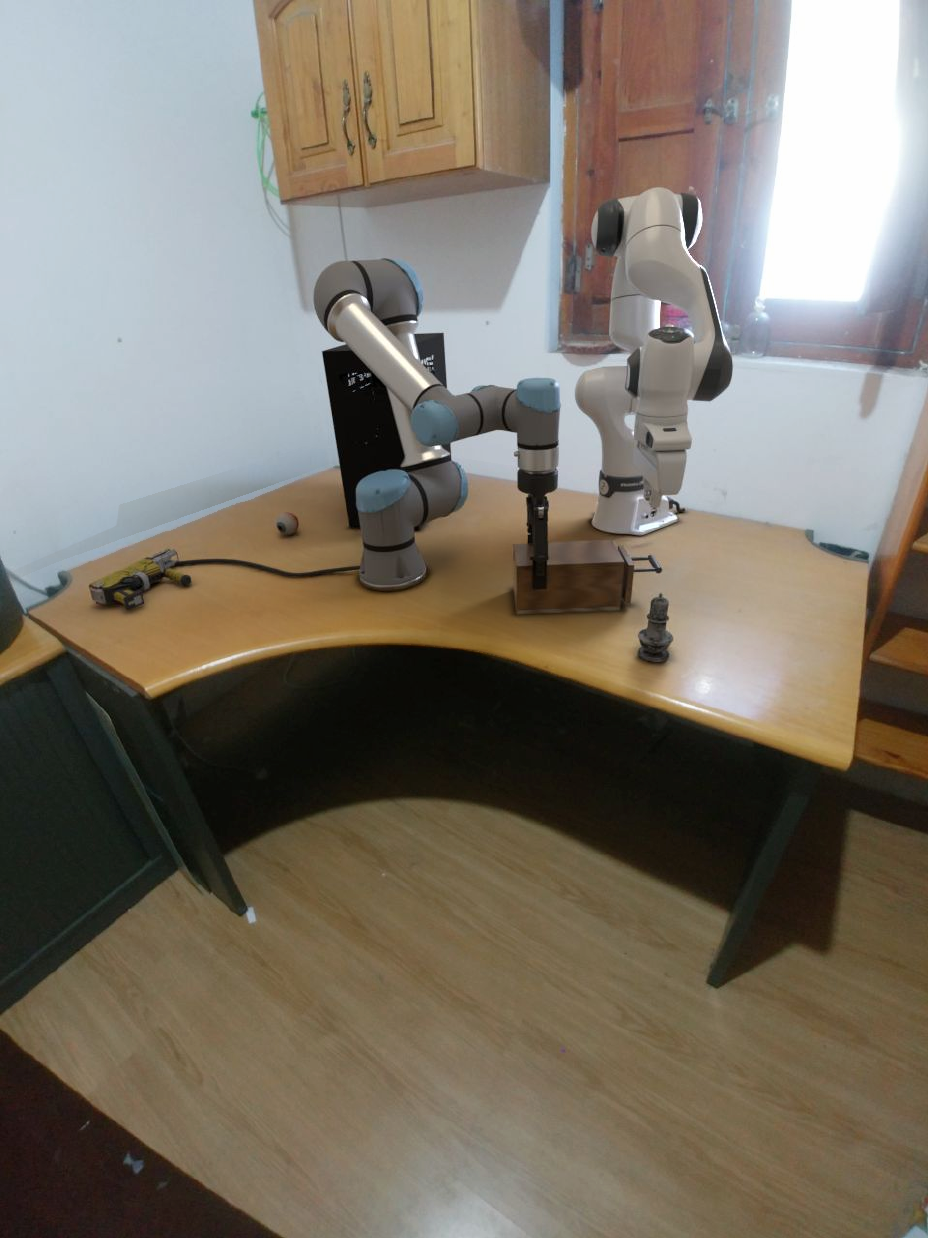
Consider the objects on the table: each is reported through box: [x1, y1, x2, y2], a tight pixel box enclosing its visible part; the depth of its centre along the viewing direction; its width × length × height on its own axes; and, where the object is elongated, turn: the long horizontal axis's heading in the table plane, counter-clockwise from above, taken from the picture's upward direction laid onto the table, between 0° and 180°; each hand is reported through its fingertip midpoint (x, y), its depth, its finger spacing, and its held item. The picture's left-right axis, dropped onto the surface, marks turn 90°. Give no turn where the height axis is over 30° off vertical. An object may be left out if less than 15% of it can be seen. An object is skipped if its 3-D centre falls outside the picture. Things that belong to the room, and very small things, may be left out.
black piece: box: [321, 332, 452, 532], centre depth 169 cm, size 38×20×45 cm, turn 167°
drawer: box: [617, 544, 663, 605], centre depth 122 cm, size 25×10×9 cm, turn 89°
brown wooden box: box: [512, 539, 624, 615], centre depth 122 cm, size 21×11×11 cm, turn 89°
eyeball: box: [275, 511, 300, 536], centre depth 163 cm, size 6×6×6 cm
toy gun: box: [88, 547, 192, 612], centre depth 139 cm, size 5×24×15 cm
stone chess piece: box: [637, 592, 674, 663], centre depth 103 cm, size 6×6×12 cm
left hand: (536, 575), depth 122 cm, fingers closed on brown wooden box, 11 cm apart
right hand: (651, 503), depth 115 cm, fingers open, 3 cm apart
